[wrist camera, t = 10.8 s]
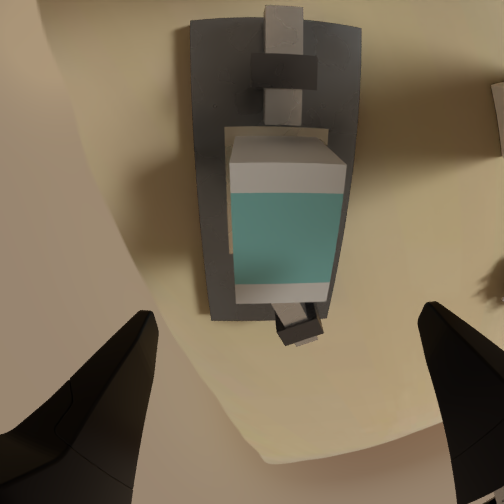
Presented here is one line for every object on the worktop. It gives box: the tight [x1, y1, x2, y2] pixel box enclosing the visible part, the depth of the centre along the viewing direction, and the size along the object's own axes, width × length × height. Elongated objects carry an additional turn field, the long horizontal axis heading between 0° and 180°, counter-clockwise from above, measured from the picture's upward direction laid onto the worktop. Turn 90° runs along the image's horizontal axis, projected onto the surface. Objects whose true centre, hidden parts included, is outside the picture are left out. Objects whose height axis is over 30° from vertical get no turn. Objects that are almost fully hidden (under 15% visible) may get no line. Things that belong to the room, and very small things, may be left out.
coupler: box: [229, 136, 347, 304], centre depth 15 cm, size 7×4×5 cm, turn 1°
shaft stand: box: [190, 5, 361, 347], centre depth 16 cm, size 9×20×4 cm, turn 0°
